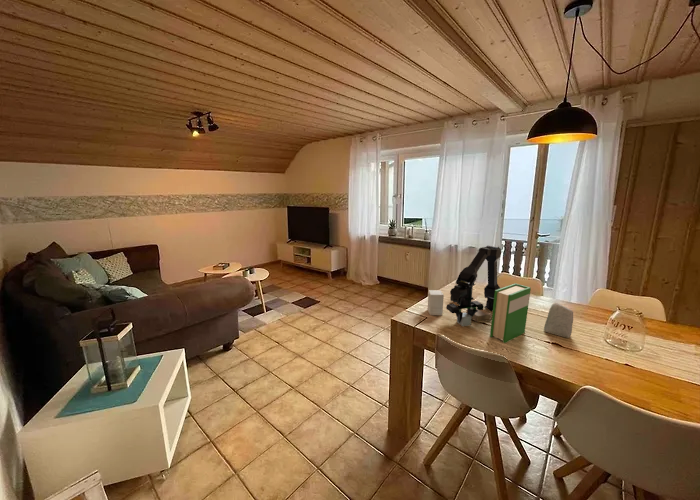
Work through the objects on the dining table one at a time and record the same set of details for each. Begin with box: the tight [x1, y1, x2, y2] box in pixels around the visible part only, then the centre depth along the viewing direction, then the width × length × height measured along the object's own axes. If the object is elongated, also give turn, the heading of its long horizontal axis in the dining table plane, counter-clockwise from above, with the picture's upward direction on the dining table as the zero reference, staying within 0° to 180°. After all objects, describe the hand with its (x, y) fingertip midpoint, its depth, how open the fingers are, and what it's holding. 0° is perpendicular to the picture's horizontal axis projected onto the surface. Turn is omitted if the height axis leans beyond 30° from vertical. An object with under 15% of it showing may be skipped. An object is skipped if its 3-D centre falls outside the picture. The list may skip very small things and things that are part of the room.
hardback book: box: [489, 282, 532, 344], centre depth 137 cm, size 18×7×24 cm, turn 122°
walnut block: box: [465, 307, 492, 323], centre depth 158 cm, size 9×9×4 cm
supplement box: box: [427, 289, 445, 316], centre depth 164 cm, size 7×7×13 cm
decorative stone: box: [543, 302, 574, 339], centre depth 139 cm, size 11×6×15 cm, turn 39°
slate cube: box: [456, 311, 472, 327], centre depth 151 cm, size 5×5×5 cm
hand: (463, 321), depth 151 cm, fingers closed on slate cube, 5 cm apart
